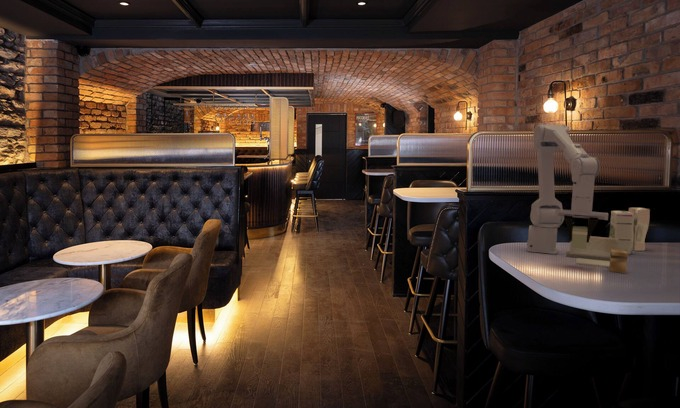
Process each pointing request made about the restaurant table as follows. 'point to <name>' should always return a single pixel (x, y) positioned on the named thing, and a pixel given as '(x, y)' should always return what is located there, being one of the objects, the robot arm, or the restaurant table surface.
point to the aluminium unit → (595, 249)
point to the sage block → (579, 237)
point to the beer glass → (639, 227)
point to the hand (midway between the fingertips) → (578, 241)
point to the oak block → (618, 261)
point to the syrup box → (622, 229)
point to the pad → (593, 262)
